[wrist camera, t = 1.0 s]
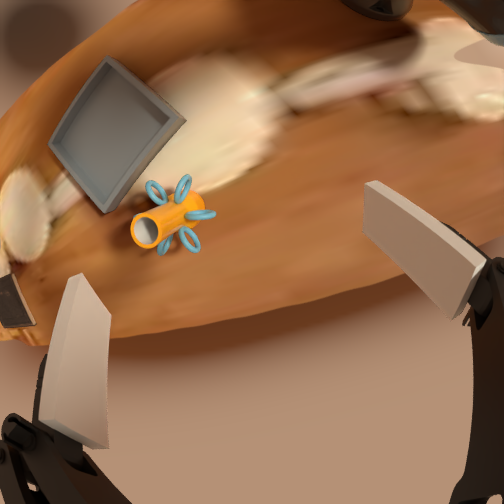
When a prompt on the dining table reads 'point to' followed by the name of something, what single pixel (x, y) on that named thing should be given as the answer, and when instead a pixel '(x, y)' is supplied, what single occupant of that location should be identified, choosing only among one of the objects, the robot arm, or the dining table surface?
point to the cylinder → (170, 217)
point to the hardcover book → (13, 304)
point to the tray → (112, 132)
